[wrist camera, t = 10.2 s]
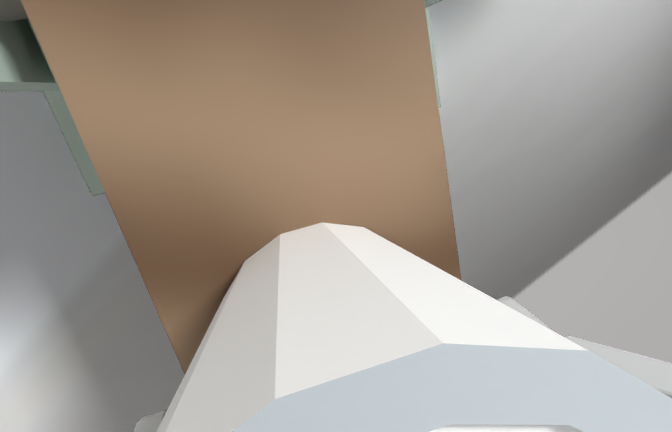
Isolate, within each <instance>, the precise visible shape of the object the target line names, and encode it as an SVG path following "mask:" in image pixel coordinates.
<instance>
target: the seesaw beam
mask: <svg viewBox="0 0 672 432" xmlns="http://www.w3.org/2000/svg"><path fill="white" fill-rule="evenodd" d="M25 18H29V20H30V22H31V25H32V27H33V29H34V32H35V34H36V36H37V38H38V41H39V43H40V45H41V48H42V50H43V52H44V54H45V57H46V59H47V61H48V64H49V66H50V68H51V70H52V73H53V75H54V77H55V79H56V82H57V84H58V86H59V89H60V91H61V93H62V95H63V98H64V100H65V102H66V105H67V107H68V109H69V111H70V114H71V116H72V118H73V120H74V123H75V125H76V127H77V130H78V132H79V134H80V136H81V139H82V141H83V143H84V146H85V148H86V150H87V152H88V155H89V157H90V159H91V162H92V164H93V166H94V168H95V171H96V173H97V175H98V177H99V180H100V182H101V184H102V187H103V189H104V191H105V193H106V196H107V198H108V200H109V203H110V205H111V207H112V209H113V212H114V214H115V216H116V218H117V221H118V223H119V225H120V228H121V230H122V232H123V234H124V237H125V239H126V241H127V244H128V246H129V248H130V250H131V253H132V255H133V257H134V259H135V262H136V264H137V266H138V269H139V271H140V273H141V275H142V278H143V280H144V282H145V285H146V287H147V289H148V291H149V294H150V296H151V298H152V301H153V303H154V305H155V307H156V310H157V312H158V314H159V316H160V319H161V321H162V323H163V326H164V328H165V330H166V332H167V335H168V337H169V339H170V342H171V344H172V346H173V348H174V351H175V353H176V355H177V357H178V360H179V362H180V364H181V367H182V369H183V371H184V373H185V374H186V372H187V370H188V368H189V366H190V364H191V362H192V360H193V358H194V356H195V354H196V352H197V350H198V348H199V346H200V344H201V342H202V340H203V338H204V336H205V334H206V332H207V330H208V328H209V326H210V324H211V322H212V320H213V318H214V316H215V314H216V312H217V310H218V308H219V306H220V304H221V302H222V300H223V298H224V296H225V294H226V293H227V291H228V289H229V288H230V286H231V284H232V282H233V281H234V279H235V277H236V276H237V274H238V272H239V270H240V269H241V267H242V265H243V263H244V262H245V261H246V260H247V259H248V258H250V257H251V256H252V255H253V254H255V253H256V252H257V251H259V250H260V249H261V248H263V247H264V246H265V245H267V244H268V243H269V242H271V241H272V240H273V239H274V238H276V237H277V236H278V235H280V234H283V233H286V232H290V231H293V230H297V229H301V228H304V227H308V226H311V225H315V224H318V223H322V222H323V223H332V224H341V225H350V226H359V227H365V228H366V229H368V230H370V231H372V232H374V233H375V234H377V235H379V236H381V237H383V238H385V239H386V240H388V241H390V242H392V243H394V244H396V245H397V246H399V247H401V248H403V249H405V250H406V251H408V252H410V253H412V254H414V255H416V256H417V257H419V258H421V259H423V260H425V261H426V262H428V263H430V264H432V265H434V266H436V267H437V268H439V269H441V270H443V271H445V272H446V273H448V274H450V275H452V276H454V277H456V278H457V279H459V280H461V275H460V267H459V260H458V252H457V245H456V237H455V230H454V222H453V214H452V207H451V199H450V192H449V184H448V177H447V169H446V162H445V154H444V147H443V139H442V132H441V124H440V116H439V109H438V101H437V94H436V86H435V79H434V71H433V64H432V56H431V49H430V41H429V34H428V26H427V18H426V11H425V3H424V0H0V20H1V21H4V22H10V21H15V20H20V19H25Z"/></svg>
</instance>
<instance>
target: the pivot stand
mask: <svg viewBox="0 0 672 432" xmlns="http://www.w3.org/2000/svg"><path fill="white" fill-rule="evenodd" d="M439 1H442V0H424V3H425V11H426V18H427V26H428V34H429V41H430V49H431V56H432V64H433V71H434V79H435V86H436V94H437V101H438V108H440V107H441V105H440V96H439V87H438V79H437V70H436V62H435V53H434V44H433V36H432V27H431V18H430V10H429V6H431V5H433V4H435V3H437V2H439ZM13 91H43V92H44V95H45V97H46V99H47V101H48V103H49V105H50V107H51V109H52V112H53V114H54V116H55V118H56V120H57V122H58V124H59V127H60V129H61V131H62V133H63V135H64V137H65V139H66V141H67V144H68V146H69V148H70V150H71V152H72V154H73V156H74V158H75V161H76V163H77V165H78V167H79V169H80V171H81V173H82V175H83V178H84V180H85V182H86V184H87V186H88V188H89V190H90V192H91V195H92V196H94V195H98V194H102V193H105V191H104V189H103V187H102V184H101V182H100V180H99V177H98V175H97V173H96V171H95V168H94V166H93V164H92V162H91V159H90V157H89V155H88V152H87V150H86V148H85V146H84V143H83V141H82V139H81V136H80V134H79V132H78V130H77V127H76V125H75V123H74V120H73V118H72V116H71V114H70V111H69V109H68V107H67V105H66V102H65V100H64V98H63V95H62V93H61V91H60V89H59V86H58V84H57V82H56V79H55V77H54V75H53V73H52V70H51V68H50V66H49V64H48V61H47V59H46V57H45V54H44V52H43V50H42V48H41V45H40V43H39V41H38V38H37V36H36V34H35V32H34V29H33V27H32V25H31V22H30V20H29V18H25V19H20V20H15V21H10V22H4V21H1V20H0V92H13Z"/></svg>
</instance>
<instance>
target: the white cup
mask: <svg viewBox="0 0 672 432" xmlns="http://www.w3.org/2000/svg"><path fill="white" fill-rule="evenodd" d="M156 432H672V398H670V397H669V396H667V395H665V394H663V393H662V392H660V391H658V390H656V389H655V388H653V387H651V386H649V385H648V384H646V383H644V382H642V381H641V380H639V379H637V378H635V377H634V376H632V375H630V374H628V373H627V372H625V371H623V370H621V369H620V368H618V367H616V366H615V365H613V364H611V363H609V362H608V361H606V360H604V359H602V358H601V357H599V356H597V355H595V354H594V353H592V352H590V351H588V350H587V349H585V348H583V347H581V346H579V345H577V344H576V343H574V342H572V341H570V340H568V339H567V338H565V337H563V336H561V335H559V334H557V333H556V332H554V331H552V330H550V329H548V328H547V327H545V326H543V325H541V324H539V323H537V322H536V321H534V320H532V319H530V318H528V317H527V316H525V315H523V314H521V313H519V312H517V311H516V310H514V309H512V308H510V307H508V306H507V305H505V304H503V303H501V302H499V301H497V300H496V299H494V298H492V297H490V296H488V295H486V294H485V293H483V292H481V291H479V290H477V289H476V288H474V287H472V286H470V285H468V284H466V283H465V282H463V281H461V280H459V279H457V278H456V277H454V276H452V275H450V274H448V273H446V272H445V271H443V270H441V269H439V268H437V267H436V266H434V265H432V264H430V263H428V262H426V261H425V260H423V259H421V258H419V257H417V256H416V255H414V254H412V253H410V252H408V251H406V250H405V249H403V248H401V247H399V246H397V245H396V244H394V243H392V242H390V241H388V240H386V239H385V238H383V237H381V236H379V235H377V234H375V233H374V232H372V231H370V230H368V229H366V228H365V227H359V226H350V225H341V224H332V223H323V222H322V223H318V224H315V225H311V226H308V227H304V228H301V229H297V230H293V231H290V232H286V233H283V234H280V235H278V236H277V237H276V238H274V239H273V240H272V241H271V242H269V243H268V244H267V245H265V246H264V247H263V248H261V249H260V250H259V251H257V252H256V253H255V254H253V255H252V256H251V257H250V258H248V259H247V260H246V261H245V262H244V263H243V265H242V267H241V269H240V270H239V272H238V274H237V276H236V277H235V279H234V281H233V282H232V284H231V286H230V288H229V289H228V291H227V293H226V294H225V296H224V298H223V300H222V302H221V304H220V306H219V308H218V310H217V312H216V314H215V316H214V318H213V320H212V322H211V324H210V326H209V328H208V330H207V332H206V334H205V336H204V338H203V340H202V342H201V344H200V346H199V348H198V350H197V352H196V354H195V356H194V358H193V360H192V362H191V364H190V366H189V368H188V370H187V372H186V374H185V376H184V378H183V380H182V382H181V384H180V386H179V388H178V390H177V392H176V394H175V396H174V398H173V400H172V402H171V404H170V406H169V408H168V410H167V412H166V414H165V416H164V418H163V420H162V422H161V423H160V425H159V427H158V429H157V431H156Z"/></svg>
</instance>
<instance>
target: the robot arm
mask: <svg viewBox="0 0 672 432" xmlns="http://www.w3.org/2000/svg"><path fill="white" fill-rule="evenodd" d="M496 300H497V301H499V302H501V303H503V304H505V305H507V306H508V307H510V308H512V309H514V310H516V311H517V312H519V313H521V314H523V315H525V316H527V317H528V318H530V319H532V320H534V321H536V322H537V323H539V324H541V325H543V326H545V327H547V328H548V329H550V330H552V329H551V328H550V327H548V326H547V325H546V324H545V323H543V322H542V321H541V320H539V319H538V318H537V317H536V316H534V315H533V314H532V313H530V312H529V311H528V310H527V309H525V308H524V307H523V306H522V305H520V304H519V303H518V302H516V301H515V300H514V299H513V298H511V297H508V296H505V297H502V298H499V299H496ZM552 331H553V330H552ZM554 332H555V331H554ZM565 338H567V339H568V340H570V341H572V342H574V343H576V344H577V345H579V346H581V347H583V348H585V349H587V350H588V351H590V352H592V353H594V354H595V355H597V356H599V357H601V358H602V359H604V360H606V361H608V362H609V363H611V364H613V365H615V366H616V367H618V368H620V369H621V370H623V371H625V372H627V373H628V374H630V375H632V376H634V377H635V378H637V379H639V380H641V381H642V382H644V383H646V384H648V385H649V386H651V387H653V388H655V389H656V390H658V391H660V392H662V393H663V394H665V395H667V396H669V397H670V398H672V363H669V362H666V361H662V360H658V359H654V358H650V357H647V356H643V355H640V354H636V353H632V352H629V351H624V350H621V349H617V348H613V347H610V346H606V345H603V344H599V343H595V342H591V341H588V340H584V339H580V338H577V337H573V336H566V337H565ZM167 410H168V409H167ZM167 410H164V411H161V412H157V413H154V414H151V415H148V416H145V417H142V418H141V419H140V420H139V421H138V422H137V424H136V426H135V429H134V432H156V431H157V429H158V427H159V425H160V423H161V422H162V420H163V418H164V416H165V414H166V412H167Z"/></svg>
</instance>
